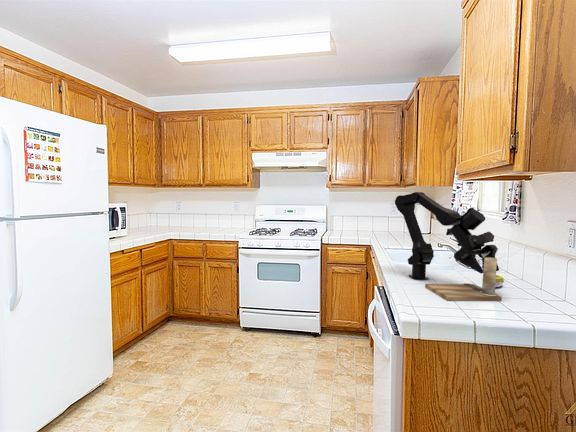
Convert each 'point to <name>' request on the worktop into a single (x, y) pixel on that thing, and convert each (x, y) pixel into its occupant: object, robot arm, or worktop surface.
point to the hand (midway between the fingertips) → (490, 271)
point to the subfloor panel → (461, 292)
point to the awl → (489, 276)
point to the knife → (499, 281)
